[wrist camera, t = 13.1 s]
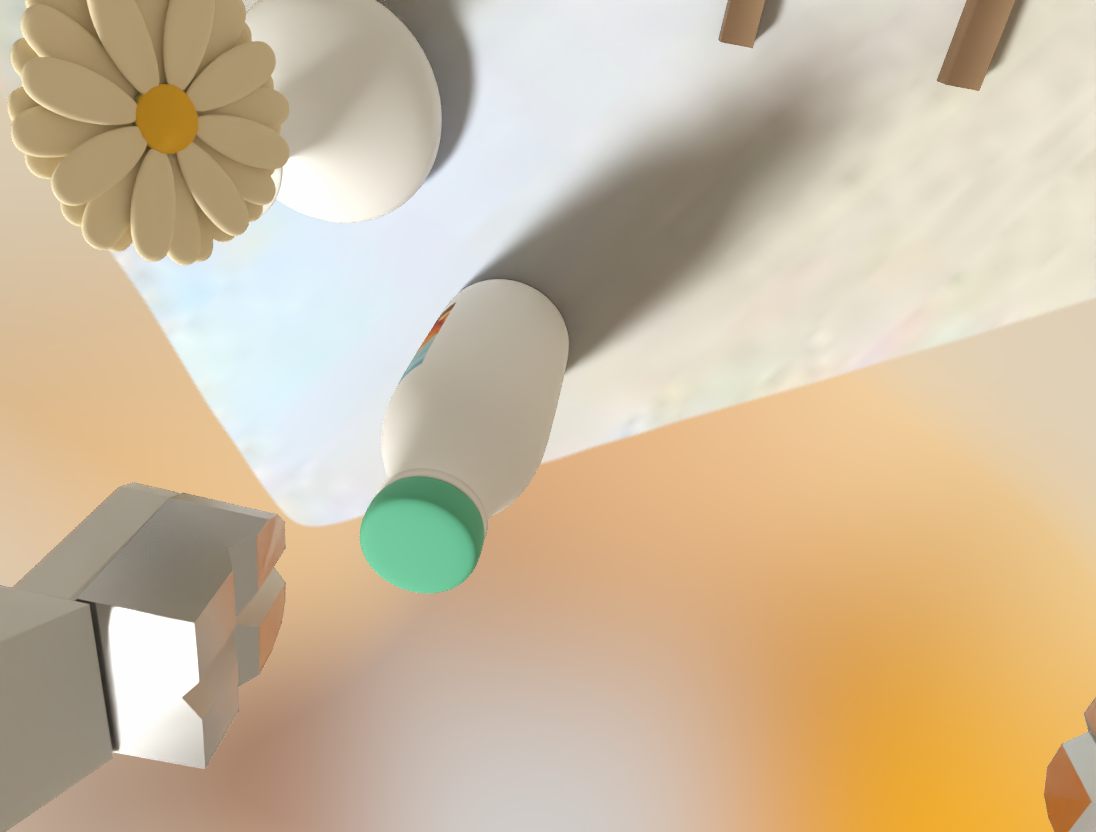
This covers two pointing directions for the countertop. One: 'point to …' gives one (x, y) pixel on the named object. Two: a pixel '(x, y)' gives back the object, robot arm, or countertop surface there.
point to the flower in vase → (220, 115)
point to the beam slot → (963, 58)
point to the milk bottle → (464, 433)
